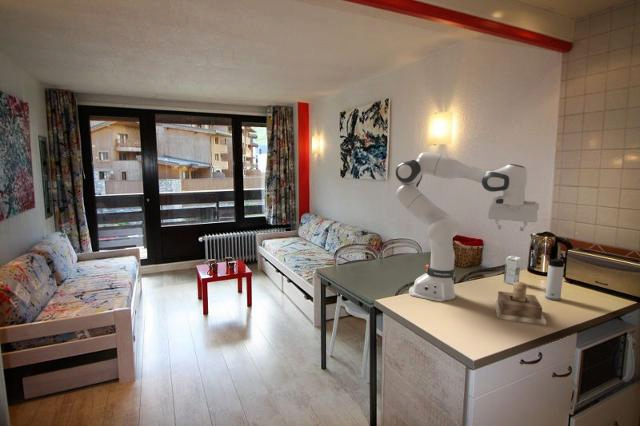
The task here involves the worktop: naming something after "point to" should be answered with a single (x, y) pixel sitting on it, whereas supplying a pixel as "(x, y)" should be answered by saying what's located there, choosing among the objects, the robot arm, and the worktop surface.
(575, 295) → the worktop surface
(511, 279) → the syrup box
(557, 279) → the travel mug
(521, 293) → the oak peg
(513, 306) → the socket board
